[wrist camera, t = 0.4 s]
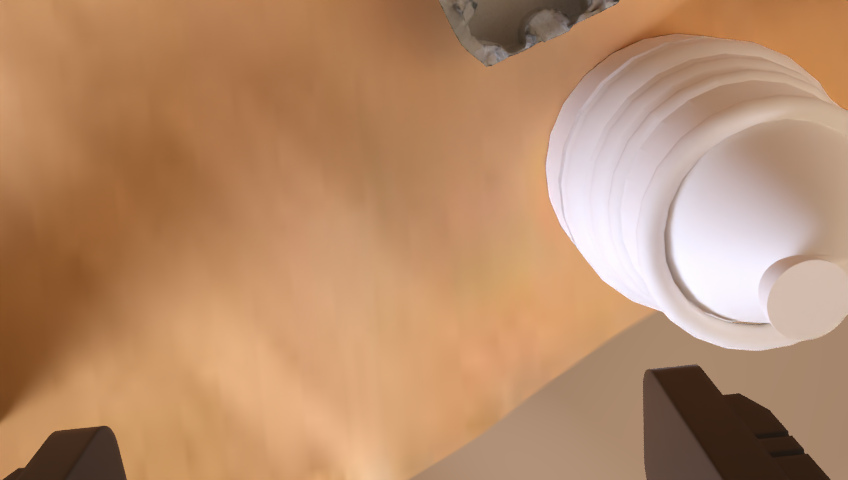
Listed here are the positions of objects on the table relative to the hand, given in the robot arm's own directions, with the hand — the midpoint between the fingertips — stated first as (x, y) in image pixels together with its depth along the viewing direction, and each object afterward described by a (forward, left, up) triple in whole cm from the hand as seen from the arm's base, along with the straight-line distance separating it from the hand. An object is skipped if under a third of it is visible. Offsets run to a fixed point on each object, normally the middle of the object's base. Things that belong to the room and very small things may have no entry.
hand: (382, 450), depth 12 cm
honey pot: (+3, +14, -29) cm, 33 cm away
